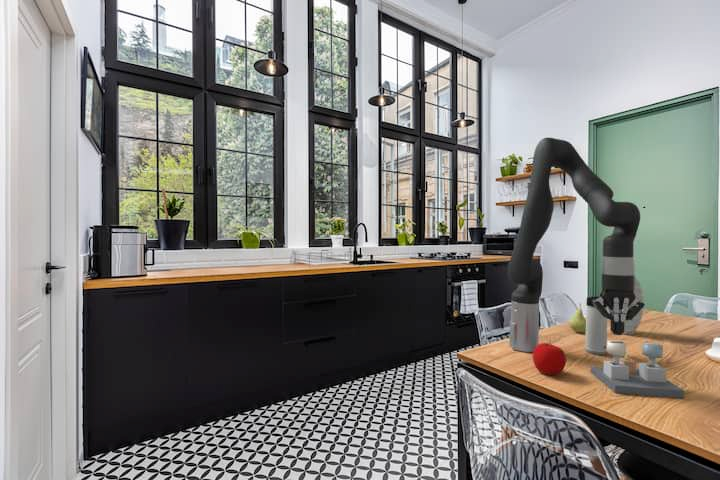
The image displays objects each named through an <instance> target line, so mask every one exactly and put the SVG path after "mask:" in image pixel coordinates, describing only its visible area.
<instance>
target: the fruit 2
mask: <svg viewBox="0 0 720 480" xmlns="http://www.w3.org/2000/svg"><path fill="white" fill-rule="evenodd" d="M569 327H570V328H571V330H573V331H574V332H575V333H577V334H583V333H586V317H585V316H584V313H583V310H582V304H581V303H579V308H578V309H577V310H576V312H575V314H574V315H573V316H572V317H571V319H570V320H569Z"/></svg>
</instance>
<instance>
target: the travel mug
mask: <svg viewBox="0 0 720 480" xmlns="http://www.w3.org/2000/svg"><path fill="white" fill-rule="evenodd" d="M599 297H600V296H589V297H586V305H585V306H586V307H585V320H586V331H585V352H586V353H587V354H590V355H595V356H606V355H607V354H608V353H607V341H608V338H607V337H608V319H607V318H605V317H603V316H602V314H601V313H600V312H599V311H598V310H597V308H596V307H595V306H594V305H593V304H592V300H596V299H598V298H599ZM603 303H604V301H603ZM603 307H604V308H605V309H606V310H607V305H606V304H605V303H604V305H603Z"/></svg>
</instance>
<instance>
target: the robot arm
mask: <svg viewBox="0 0 720 480" xmlns="http://www.w3.org/2000/svg"><path fill="white" fill-rule="evenodd" d="M552 168H558V169H559V170H562V171H563V172H565V173H566V174H567V175H568V176H569V177H570V179H571V183H572V186H573V188H574V190H575V192H576V193H577V194H578V195H579V196H580V197H581V198H582V199H583V200H584V201H585V202H586V204H588V206H589V209H590V211H591V213H592V215H593V216H594V219H596V221H597V222H599V224H601V225H603V226H605V227H607V228H608V227H610V228H613V230H612V234H610V235H607V236H606V237H604V238H603V241H602V261H601V269H600V271H601V292H600V294H599V296H598V297H599V298H598V299H596V300H592V304H593V305H594V306H595V307H596V308H597V310H598V311H599V312H600V313H601V314H602V316H603V317H605V318H607V320H609V319H610V321H611V323H610V332H611V333H612V334H613V335H615V336H622V335H623V334H622V333H624V322H625V321H626V320H632V319H633V318H634V317H635V316H636V315H637V313H638V312H639V311H640V310H641V309H642V308H643V309H644V307H645V302H644V303H642V302H640V301H638V300H637V299H636V296H635V294H634V276H635V269H636V268H635V260H634V241H635V239H636V236H637V233H638V229H639V226H640V222H641V212H640V211H641V210H640V209H639V207H638V206H637V205H636V204H635V203H633V202H630V201H615V200H614V199H613V197H614V191H613V190H612V188H611V187H610V186H609V185H608V184H607V183H606V182H605V181H603V180H602V179H601V178H600V177H599V176H598V175H597V174H596V173H595V172H594V171H593V170H592V169H591V168H590V167H589V166H588V165H587V163H586V162H585V161H584V159H583V158H582V157H581V155H580V154H579V153H578V151H577V149H576V148H575V147H574V146H573V145H572V143H571V142H569V141H567V140H564V139H560V138H559V139H558V138H554V137H544V138H541V140H539V142H538V143H537V145H536V147H535V149H534V153H533V157H532V164H531V171H530V172H531V174H530V180H529V186H528V190H527V196H526V200H525V203H524V205H523V206H524V207H523V212H522V216H521V220H520V226H519V229H518V233H517V238H516V241H515V245H514V247H513V250H512V253H511V256H510V259H509V262H508V265H507V276H508V278H509V280H510V281H511V282H512V283H514V284H517V288H516V289H515V290H514V291H513V292H512V293H511V309H510V311H511V313H510V315H511V317H510V318H511V319H510V320H509V346H510V348H511V349H512V350H513V351H520V352H525V353H533V351H534V349H535V347H536V346H537V345H539V344H540V343H539V342H540V341H539V339H540V335H539V333H540V329H539V328H540V325H539V324H540V298H541V296H542V291H543V278H544V277H543V276H544V273H543V272H544V270H543V267H542V264H541V262H540V260H538V259H536V258H534V253H535V251H536V248H537V245H538V243H540V241H541V240H542V238H543V236H544V235H545V234H546V232H547V230H548V229H549V227H550V224H551V221H552V218H553V212H554V208H555V203H554V199H553V198H554V197H553V194H552V190H551V187H550V176H551V171H552ZM603 301H604V303H605V304H606V305H607V306H608V311H609V313H608V311H607V310H606V309H605V308H604V307H603V305H604V303H603ZM630 305H632V306H631V307H630V308H629V309H628V307H629V306H630ZM610 321H609V322H610Z"/></svg>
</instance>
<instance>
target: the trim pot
mask: <svg viewBox="0 0 720 480" xmlns="http://www.w3.org/2000/svg"><path fill="white" fill-rule="evenodd" d="M630 357H631V356H630V355H628V354H626V356H624V357H619V362H622V363H623V364H625V365H626V366H628V367H629V373H630V374H636V369H637V367H636V365H637V364H636V360H633V359H632V358H630Z"/></svg>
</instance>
